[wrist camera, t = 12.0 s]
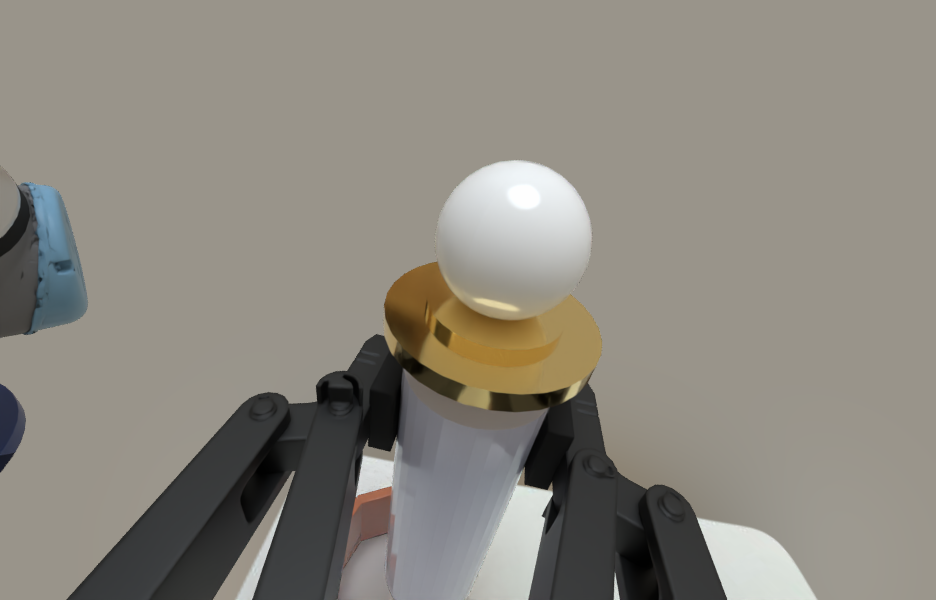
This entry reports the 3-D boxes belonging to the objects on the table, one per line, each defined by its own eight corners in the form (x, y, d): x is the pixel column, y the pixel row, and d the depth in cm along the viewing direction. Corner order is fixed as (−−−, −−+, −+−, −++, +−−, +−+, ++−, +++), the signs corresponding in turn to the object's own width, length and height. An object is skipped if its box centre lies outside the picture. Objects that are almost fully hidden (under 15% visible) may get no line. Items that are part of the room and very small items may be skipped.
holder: (328, 718, 22) (323, 695, 19) (319, 545, 29) (314, 506, 26) (476, 646, 26) (493, 616, 22) (435, 509, 33) (444, 471, 30)
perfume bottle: (434, 680, 15) (627, 252, 4) (346, 574, 18) (327, 133, 7) (506, 560, 19) (696, 187, 8) (426, 488, 22) (493, 128, 11)
